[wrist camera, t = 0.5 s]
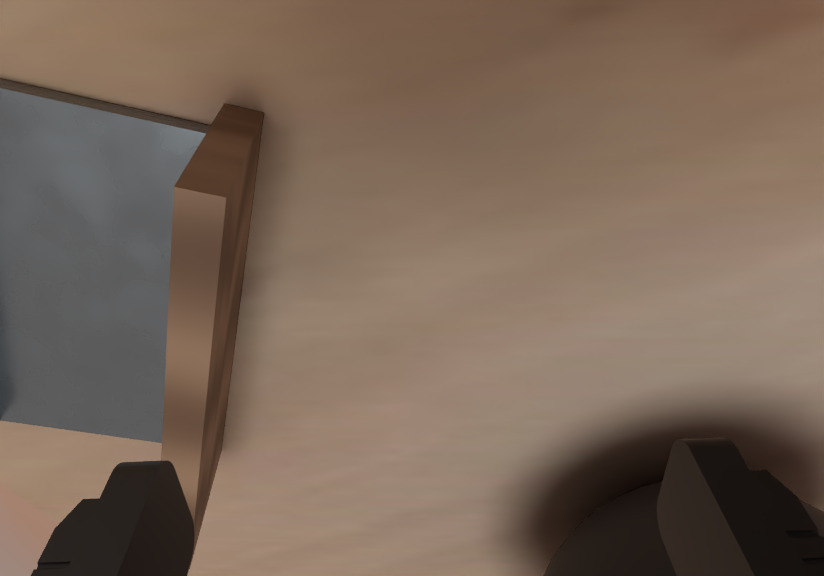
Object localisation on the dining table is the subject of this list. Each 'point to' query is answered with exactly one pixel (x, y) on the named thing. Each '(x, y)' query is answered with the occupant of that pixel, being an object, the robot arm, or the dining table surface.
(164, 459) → the wall board
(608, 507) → the coal bowl
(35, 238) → the dark grey flat slab
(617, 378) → the dining table surface
